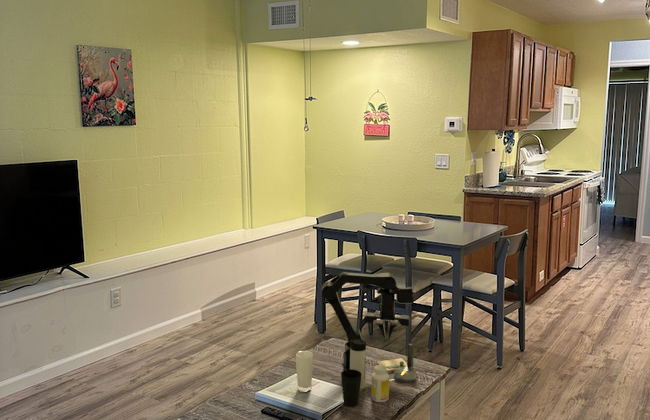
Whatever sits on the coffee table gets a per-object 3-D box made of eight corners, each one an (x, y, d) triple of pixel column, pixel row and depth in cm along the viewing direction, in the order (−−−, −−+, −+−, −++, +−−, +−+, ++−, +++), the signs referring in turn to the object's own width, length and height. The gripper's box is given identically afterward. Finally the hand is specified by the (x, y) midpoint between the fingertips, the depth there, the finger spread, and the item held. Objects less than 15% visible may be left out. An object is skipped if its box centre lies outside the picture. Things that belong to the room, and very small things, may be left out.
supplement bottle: (390, 396, 230) (391, 365, 228) (386, 404, 224) (387, 372, 222) (373, 393, 233) (374, 362, 230) (369, 401, 226) (369, 369, 224)
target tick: (389, 381, 243) (389, 380, 242) (388, 380, 243) (388, 379, 243) (394, 380, 244) (394, 379, 243) (393, 379, 244) (393, 378, 244)
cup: (361, 399, 228) (361, 369, 226) (360, 409, 220) (361, 378, 218) (341, 398, 229) (341, 368, 226) (339, 408, 221) (340, 377, 219)
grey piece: (411, 384, 240) (412, 356, 238) (390, 379, 244) (391, 352, 242) (421, 372, 251) (422, 345, 249) (400, 368, 255) (401, 341, 253)
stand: (385, 373, 250) (385, 365, 249) (376, 364, 258) (376, 357, 258) (410, 369, 254) (411, 362, 253) (401, 360, 262) (401, 353, 262)
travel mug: (346, 385, 238) (346, 338, 235) (361, 382, 241) (361, 336, 238) (353, 392, 233) (353, 344, 229) (368, 389, 235) (369, 341, 232)
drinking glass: (305, 384, 240) (305, 349, 237) (316, 390, 235) (316, 354, 232) (292, 389, 235) (292, 353, 232) (304, 395, 230) (304, 359, 228)
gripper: (411, 298, 257) (410, 332, 260) (368, 295, 261) (367, 329, 263) (409, 307, 246) (408, 342, 249) (364, 303, 250) (364, 339, 253)
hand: (386, 338), depth 254 cm, fingers closed
